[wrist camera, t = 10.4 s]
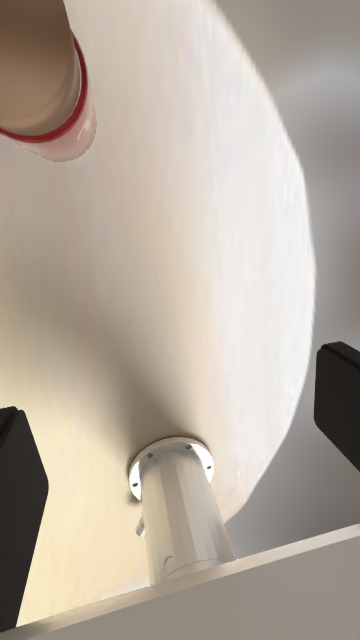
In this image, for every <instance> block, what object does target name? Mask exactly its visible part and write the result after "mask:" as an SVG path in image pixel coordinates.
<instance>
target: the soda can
mask: <svg viewBox="0 0 360 640" xmlns="http://www.w3.org/2000/svg"><path fill="white" fill-rule="evenodd" d="M71 33H72V37H73V41H74V45H75V49H76V53H77V57H78V62H79V67H80V93H79V97H78V101H77V103H76V106H75V108H74V110H73V112H72V114H71V115H70V117H69V118H68V119H67V120H66V121H65V122H64V123H63V124H62V125H61V126H60V127H58V128H57V129H55V130H53V131H51V132H49V133H46V134H43V135H37V136H25V135H18V134H15V133H11V132H9V131H6V130H4V129H2V128H0V134H2V135H3V136H5V137H7V138H9V139H10V140H12V141H14V142H16V143H17V144H19V145H21V146H23V147H24V148H26V149H28V150H29V151H31V152H33V153H35V154H36V155H38V156H40V157H42V158H44V159H47V160H50V161H55V162H66V161H71V160H74V159H76V158H78V157H80V156H81V155H82V154H84V153H85V152H86V151H87V150H88V148H89V147H90V145H91V144H92V142H93V140H94V136H95V133H96V125H97V121H96V112H95V107H94V102H93V97H92V92H91V87H90V82H89V77H88V72H87V67H86V63H85V59H84V55H83V52H82V50H81V48H80V45H79V43H78V40H77V39H76V37H75V35H74V34H73V32H72V30H71Z"/></svg>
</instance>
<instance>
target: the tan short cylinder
mask: <svg viewBox="0 0 360 640" xmlns="http://www.w3.org/2000/svg"><path fill="white" fill-rule="evenodd" d="M79 93H80V67H79V62H78V57H77V53H76V49H75V45H74V41H73V37H72V33H71V29H70V25H69V21H68V17H67V13H66V9H65V6H64V3H63V0H0V128H2V129H4V130H6V131H9V132H11V133H15V134H18V135H25V136H37V135H43V134H46V133H49V132H51V131H53V130H55V129H57V128H58V127H60V126H61V125H62V124H63V123H64V122H65V121H66V120H67V119H68V118H69V117H70V115H71V114H72V112H73V110H74V108H75V106H76V103H77V101H78V97H79Z"/></svg>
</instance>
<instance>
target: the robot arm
mask: <svg viewBox="0 0 360 640" xmlns="http://www.w3.org/2000/svg"><path fill="white" fill-rule="evenodd" d="M314 421H315V423H316V425H317V427H318V428H319V429H320V430H321V431H322V432H323V433H324V434H325V435H326V436H327V438H328V439H329V440H331V442H332V443H333V444H334V445H335V446H336V447H337V448H338V449H339V450H340V451H341V452H342V453H343V455H344V456H345V457H346V458H347V459H348V460H349V461H350V462H351V463H352V464H353V465H354V466H355V467H356V468H357V469H358V470H359V471H360V352H359V351H358V350H356V349H354V348H352V347H350V346H349V345H347V344H345V343H343V342H341V341H340V342H334V343H328V344H324V345H322V346H321V349H320V350H318V352H317V358H316V380H315V401H314ZM213 472H214V462H213V459H212V456H211V454H210V452H209V450H208V449H207V447H206V446H204V445H203V444H202V443H201V442H199V441H197V440H195V439H191V438H187V437H171V438H166V439H162V440H160V441H157V442H155V443H153V444H151V445H149V446H147V447H146V448H145V449H144V450H142V451H141V452H140V453H139V454H138V455H137V456H136V458H135V459H134V461H133V463H132V465H131V467H130V470H129V485H130V488H131V491H132V493H133V494H134V496H135V497H136V498H137V499H138V500H140V501H142V506H143V511H142V516H143V517H142V518H141V519H140V521H139V523H138V525H137V527H136V533H137V535H138V536H140V537H146V548H147V558H148V569H149V579H150V586H148V587H144V588H141V589H138V590H135V591H131V592H128V593H125V594H121V595H118V596H115V597H111V598H108V599H105V600H102V601H98V602H95V603H92V604H88V605H85V606H82V607H78V608H75V609H72V610H69V611H66V612H63V613H60V614H57V615H54V616H51V617H47V618H44V619H41V620H38V621H35V622H32V623H29V624H26V625H23V626H20V627H17V628H15V627H16V624H17V619H18V615H19V611H20V607H21V603H22V599H23V595H24V590H25V586H26V582H27V578H28V574H29V570H30V566H31V561H32V557H33V553H34V549H35V545H36V541H37V537H38V532H39V528H40V524H41V520H42V516H43V512H44V508H45V503H46V499H47V495H48V489H49V485H48V479H47V476H46V473H45V470H44V467H43V464H42V461H41V458H40V455H39V452H38V449H37V446H36V444H35V441H34V438H33V435H32V432H31V429H30V426H29V423H28V420H27V417H26V414H25V412H24V411H23V410H18V409H17V408H16V407H15V406H12V407H7V408H2V409H0V640H360V524H356V525H353V526H349V527H346V528H342V529H339V530H336V531H332V532H329V533H325V534H322V535H319V536H315V537H312V538H309V539H305V540H302V541H298V542H295V543H291V544H288V545H285V546H281V547H278V548H274V549H271V550H268V551H264V552H261V553H258V554H254V555H251V556H248V557H244V558H241V559H237V560H236V559H235V556H234V553H233V550H232V547H231V544H230V541H229V539H228V536H227V532H226V529H225V526H224V524H223V521H222V518H221V515H220V512H219V509H218V506H217V503H216V500H215V497H214V494H213V491H212V488H211V485H210V480H211V478H212V476H213Z"/></svg>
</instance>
